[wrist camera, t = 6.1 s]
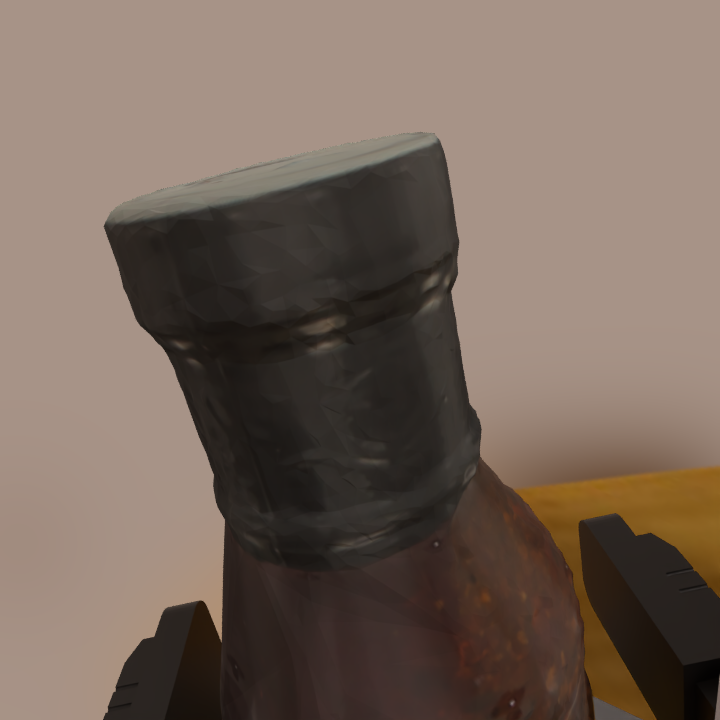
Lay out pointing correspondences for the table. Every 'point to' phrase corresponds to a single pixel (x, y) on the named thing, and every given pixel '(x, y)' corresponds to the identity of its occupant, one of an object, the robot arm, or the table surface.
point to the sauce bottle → (349, 445)
